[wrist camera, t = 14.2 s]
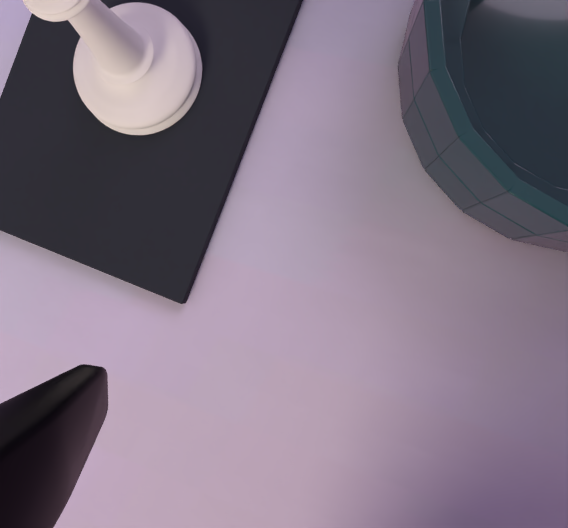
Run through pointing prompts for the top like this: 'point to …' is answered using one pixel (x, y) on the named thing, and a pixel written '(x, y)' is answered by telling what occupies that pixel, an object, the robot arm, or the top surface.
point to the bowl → (492, 110)
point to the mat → (135, 147)
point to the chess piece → (129, 62)
